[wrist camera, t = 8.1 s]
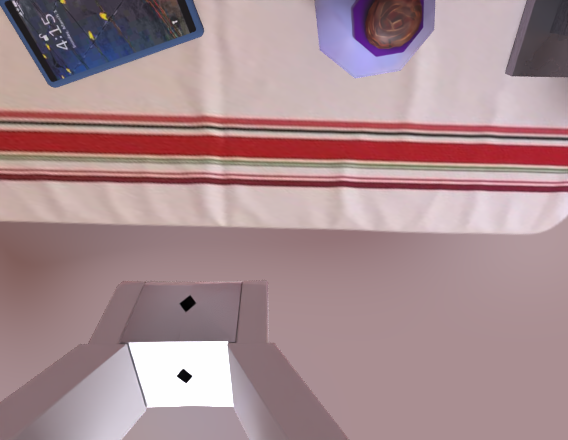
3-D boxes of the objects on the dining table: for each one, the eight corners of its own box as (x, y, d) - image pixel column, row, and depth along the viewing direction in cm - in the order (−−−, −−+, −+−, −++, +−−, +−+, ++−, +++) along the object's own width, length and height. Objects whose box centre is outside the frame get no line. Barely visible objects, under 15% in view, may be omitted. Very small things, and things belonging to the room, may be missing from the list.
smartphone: (205, 35, 33) (50, 90, 35) (206, 34, 34) (54, 88, 36) (164, -72, 29) (-8, -4, 31) (167, -71, 30) (-1, -4, 32)
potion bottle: (335, 81, 35) (359, 123, 25) (285, -13, 31) (290, -9, 21) (425, 26, 33) (492, 47, 23) (384, -83, 29) (442, -117, 19)
